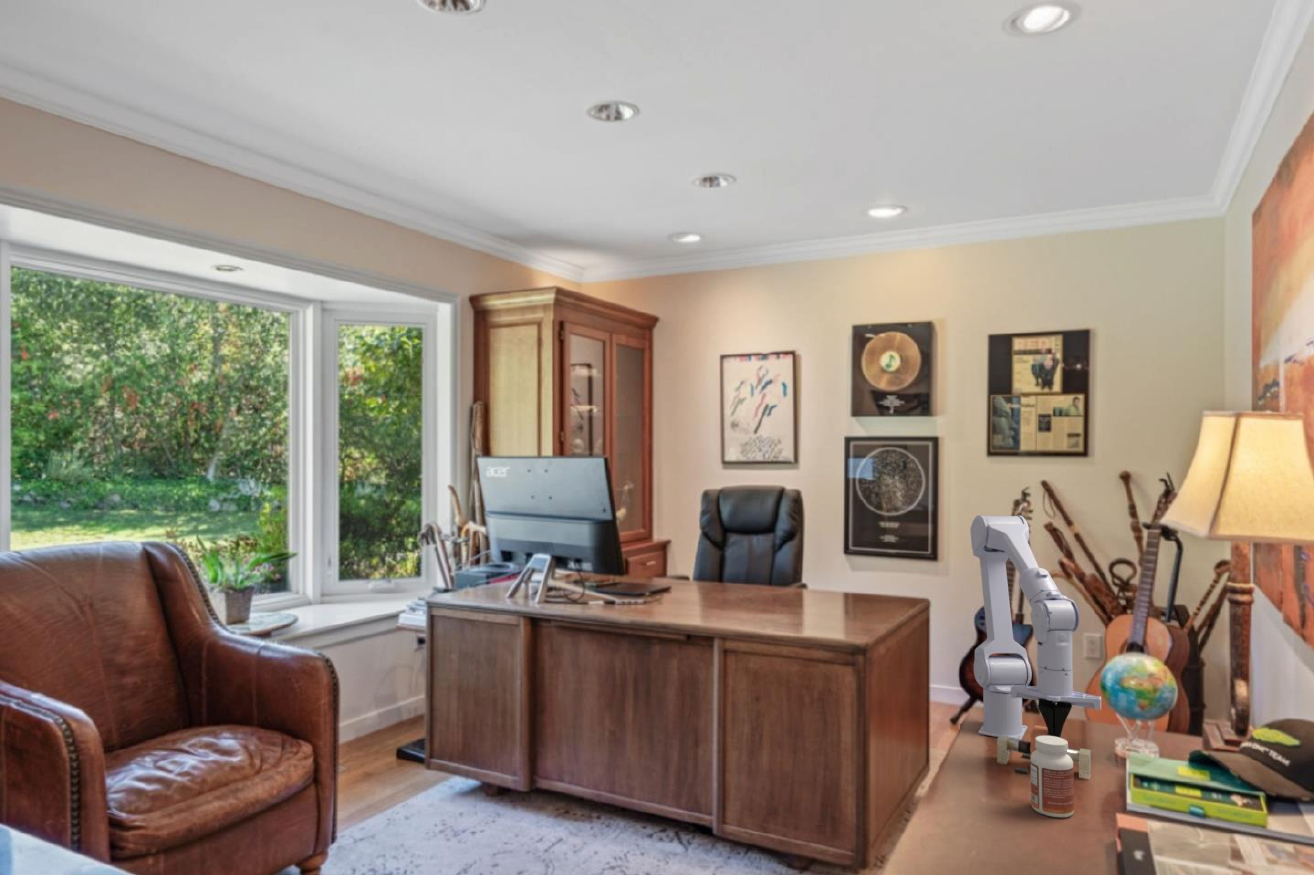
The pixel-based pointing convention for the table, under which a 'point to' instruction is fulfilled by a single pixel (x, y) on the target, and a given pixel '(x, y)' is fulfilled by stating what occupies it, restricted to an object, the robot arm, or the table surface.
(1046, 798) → the pill bottle
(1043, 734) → the upright terracotta block
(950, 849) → the table surface
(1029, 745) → the pipe rail
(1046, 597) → the robot arm
